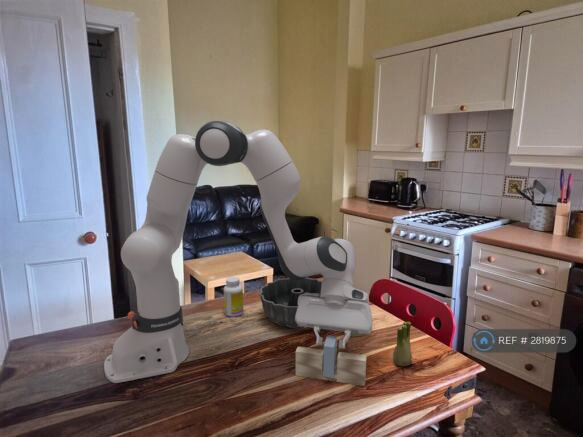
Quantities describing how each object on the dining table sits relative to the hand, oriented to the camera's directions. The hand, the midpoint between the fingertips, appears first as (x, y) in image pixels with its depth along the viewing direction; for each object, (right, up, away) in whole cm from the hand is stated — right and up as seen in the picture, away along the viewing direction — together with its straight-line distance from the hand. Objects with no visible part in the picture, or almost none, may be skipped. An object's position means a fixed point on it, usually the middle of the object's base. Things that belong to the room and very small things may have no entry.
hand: (330, 346), depth 96 cm
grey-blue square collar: (0, -7, +2) cm, 7 cm away
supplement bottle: (-31, -2, +39) cm, 50 cm away
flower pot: (+10, -4, +26) cm, 28 cm away
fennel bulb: (+21, -8, +9) cm, 24 cm away
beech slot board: (0, -9, +3) cm, 9 cm away
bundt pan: (-8, -2, +37) cm, 38 cm away
